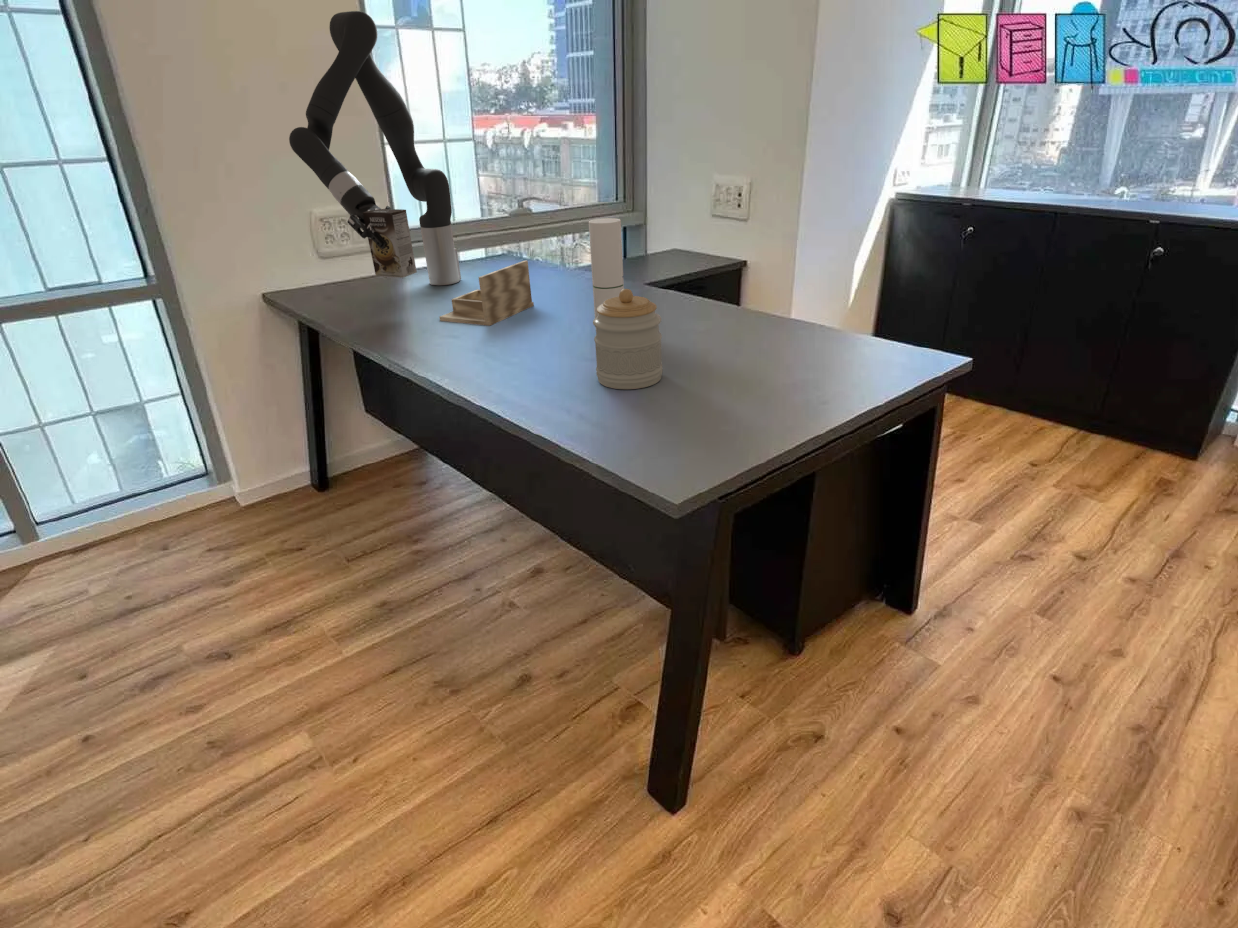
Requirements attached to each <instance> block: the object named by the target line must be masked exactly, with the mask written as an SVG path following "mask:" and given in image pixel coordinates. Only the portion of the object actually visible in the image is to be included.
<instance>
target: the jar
mask: <svg viewBox="0 0 1238 928" xmlns="http://www.w3.org/2000/svg"><path fill="white" fill-rule="evenodd" d="M657 308H658V307H657V304H656V303H654V302H653V301H651V300H649V298H646V297H643V296H638V295H634V294H633V291H632V290H631V289H629V288H624V289H623V290H621V291H620V293H619V297H614V298H610V299H608V300H606V301H604V303H603V304H601V305H600V306H598V307H597V312H598V313H599V316H597V317H596V318H595V317H594V318H593V320H592V324H593V326H594V327H595V332H596V334H595V336H594V338H593V340H594V343H595V345H594V346H595V358H596V368H595V370H596V373H595V374H596V376H597V381H598V383H599V384H601V385H602V386H604V387H607V388H609V389H615V390H635V389H644V388H647V387H651V386H653V385H655V384H657V383H658V382H660V381H661V379H662V375H663V371H664V370H663V368H664V367H663V363H662V338H663V336H662V335H663V334H662V333H661V332H660V327H659V326H660V324H661V322H662V316H661V315H660V314H658V313H656V311H657Z"/></svg>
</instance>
